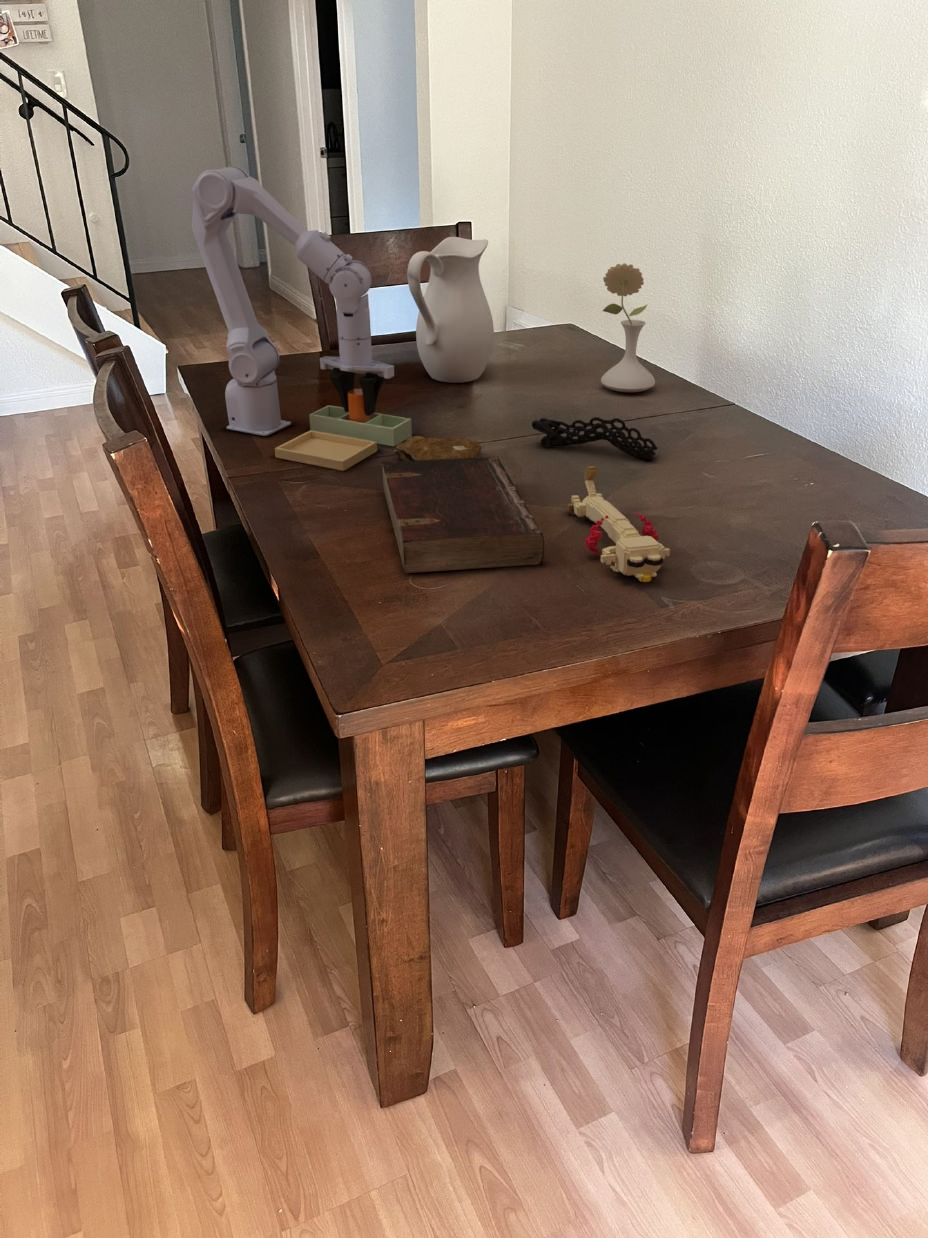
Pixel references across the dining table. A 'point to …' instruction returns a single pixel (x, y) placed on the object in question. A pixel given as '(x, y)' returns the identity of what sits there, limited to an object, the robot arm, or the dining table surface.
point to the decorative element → (558, 440)
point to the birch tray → (326, 450)
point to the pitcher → (452, 311)
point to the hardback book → (459, 515)
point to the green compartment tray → (361, 426)
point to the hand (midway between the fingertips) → (359, 412)
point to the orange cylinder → (356, 406)
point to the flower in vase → (627, 333)
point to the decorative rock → (437, 448)
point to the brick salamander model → (619, 535)
